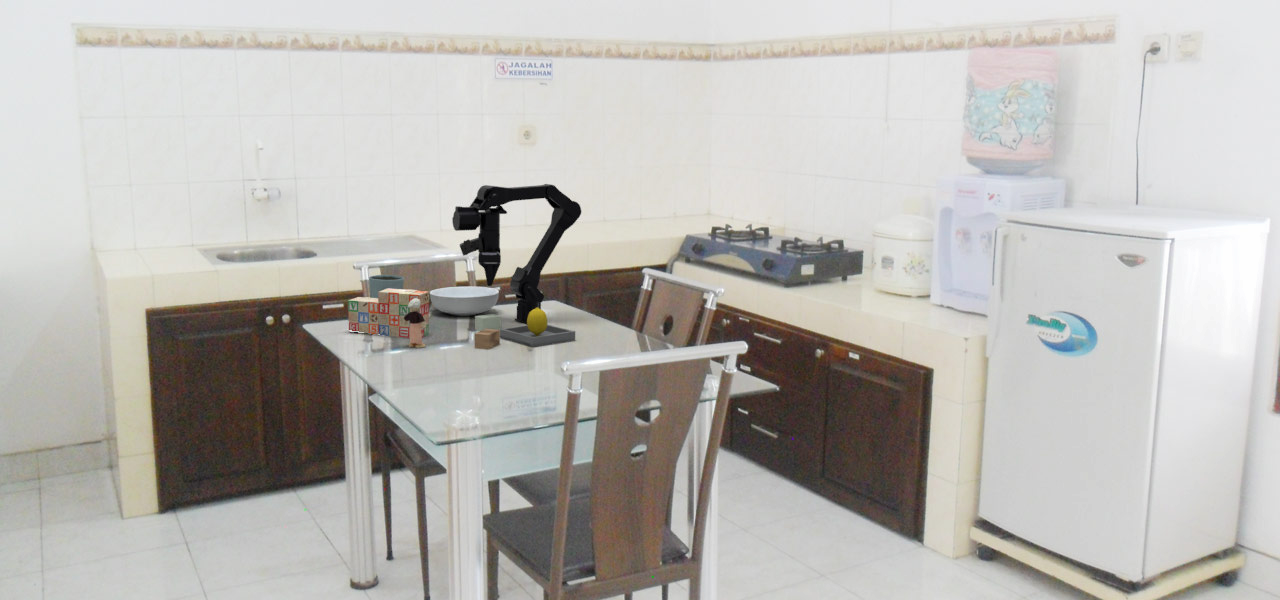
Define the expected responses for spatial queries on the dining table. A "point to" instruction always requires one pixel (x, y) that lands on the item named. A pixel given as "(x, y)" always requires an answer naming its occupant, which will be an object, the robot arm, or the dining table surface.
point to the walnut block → (487, 338)
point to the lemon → (537, 321)
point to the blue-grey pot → (384, 283)
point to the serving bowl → (464, 300)
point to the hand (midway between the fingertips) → (489, 283)
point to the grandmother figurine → (415, 323)
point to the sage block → (487, 322)
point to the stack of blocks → (387, 312)
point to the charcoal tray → (530, 339)
